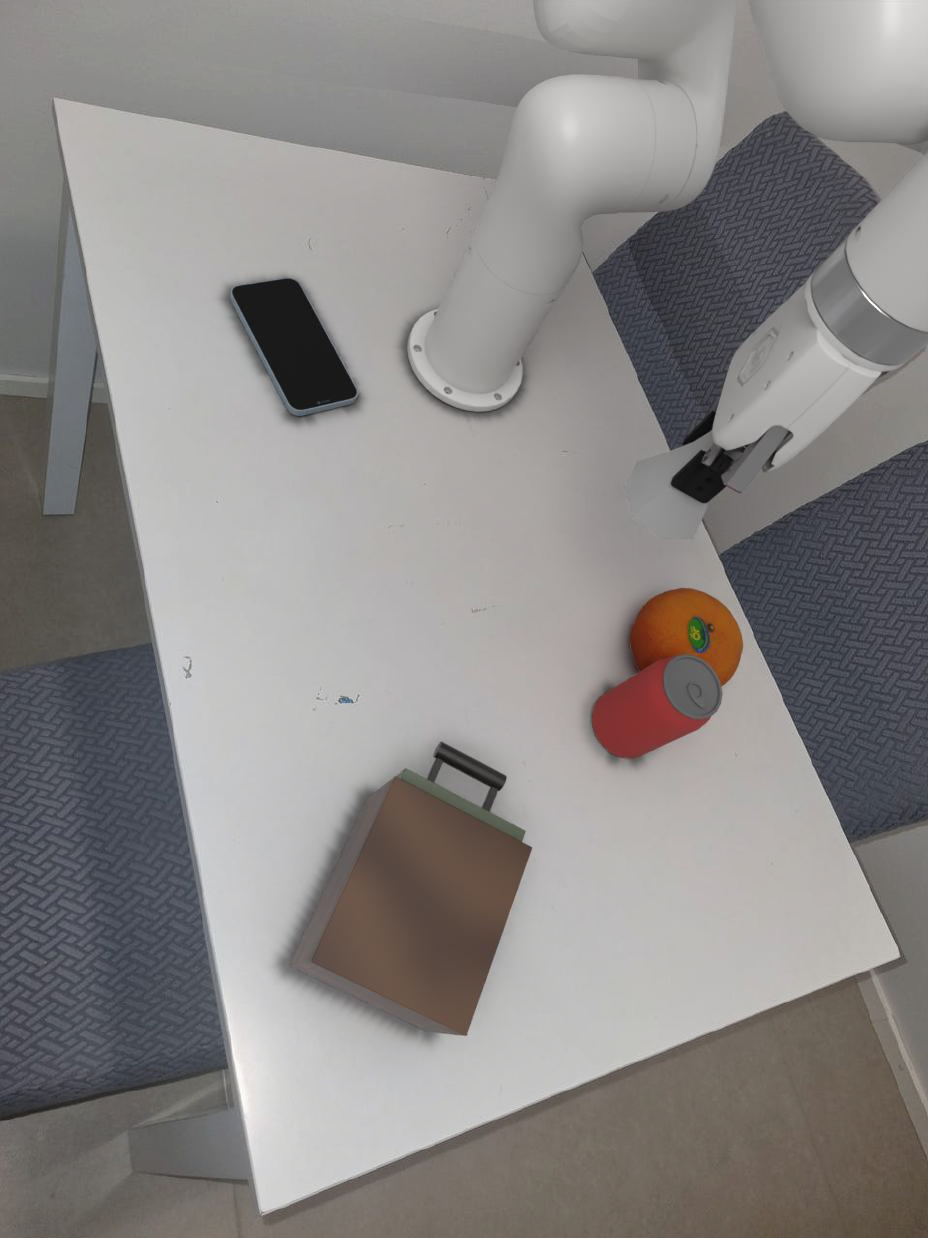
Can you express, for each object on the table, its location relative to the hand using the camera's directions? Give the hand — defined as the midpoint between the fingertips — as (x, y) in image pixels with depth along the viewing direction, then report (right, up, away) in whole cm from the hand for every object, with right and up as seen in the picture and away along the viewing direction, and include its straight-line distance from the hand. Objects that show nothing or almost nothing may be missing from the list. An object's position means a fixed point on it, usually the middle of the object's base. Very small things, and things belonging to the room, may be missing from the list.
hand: (694, 471), depth 65 cm
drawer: (-21, -30, +3) cm, 37 cm away
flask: (-2, -2, +4) cm, 5 cm away
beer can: (-3, -21, +16) cm, 27 cm away
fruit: (+2, -15, +21) cm, 26 cm away
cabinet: (-23, -34, +2) cm, 41 cm away
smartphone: (-34, +15, +19) cm, 42 cm away
